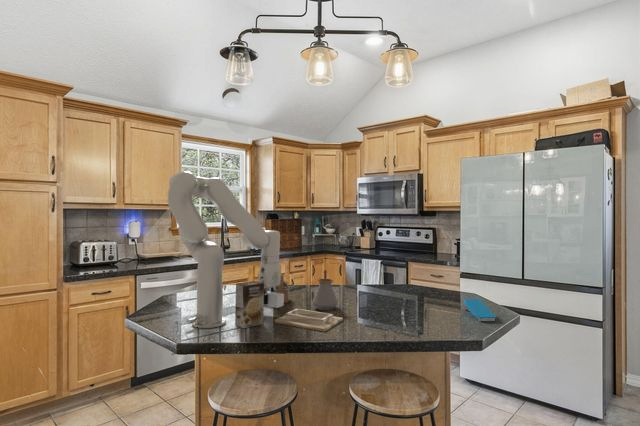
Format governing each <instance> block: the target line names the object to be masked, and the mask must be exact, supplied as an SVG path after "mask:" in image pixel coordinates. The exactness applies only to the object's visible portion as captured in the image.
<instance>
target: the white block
mask: <svg viewBox="0 0 640 426" xmlns="http://www.w3.org/2000/svg"><path fill="white" fill-rule="evenodd" d="M267 295H268V304H267V305H265V304H264V306H267V307H272V308H274V309H275V308H276V309H278V308H281V307H283V306H284V305H285V304H284V294H282V293H276V292H271V291H268V293H267Z"/></svg>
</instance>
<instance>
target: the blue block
mask: <svg viewBox="0 0 640 426" xmlns="http://www.w3.org/2000/svg"><path fill="white" fill-rule="evenodd" d="M463 305H464V307H463V308H467V309H468V310H469V311H468V312H470V313H471V315H472V316H473V315H474V316H476V317H478V318H480V319H482V318H496V319H497V316H496V314H494V313H493V312H492V311H491V309H489V307H488V306H487V305H486V304H485V303H484V302H483V300H481V299H480V298H469V299H468V298H464V299H463ZM474 316H473V317H474Z"/></svg>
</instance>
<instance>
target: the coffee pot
mask: <svg viewBox="0 0 640 426" xmlns="http://www.w3.org/2000/svg"><path fill="white" fill-rule="evenodd" d="M327 273H328V270H327V269H324V270H323V278H320V279H318V280H317V281H318V283H319V285H318V287H317V290H316V292H315V295H314V297H313V298H312V304H313V306H314V307H315V308H316V309H317V310H319V311H331V310H334V308H336V307H337V306H338V303H339V301H338V299H337V296H336V294H335V292H334V289H333V286H332V283H333V282H334V280H333V279H331V278H327Z"/></svg>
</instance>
